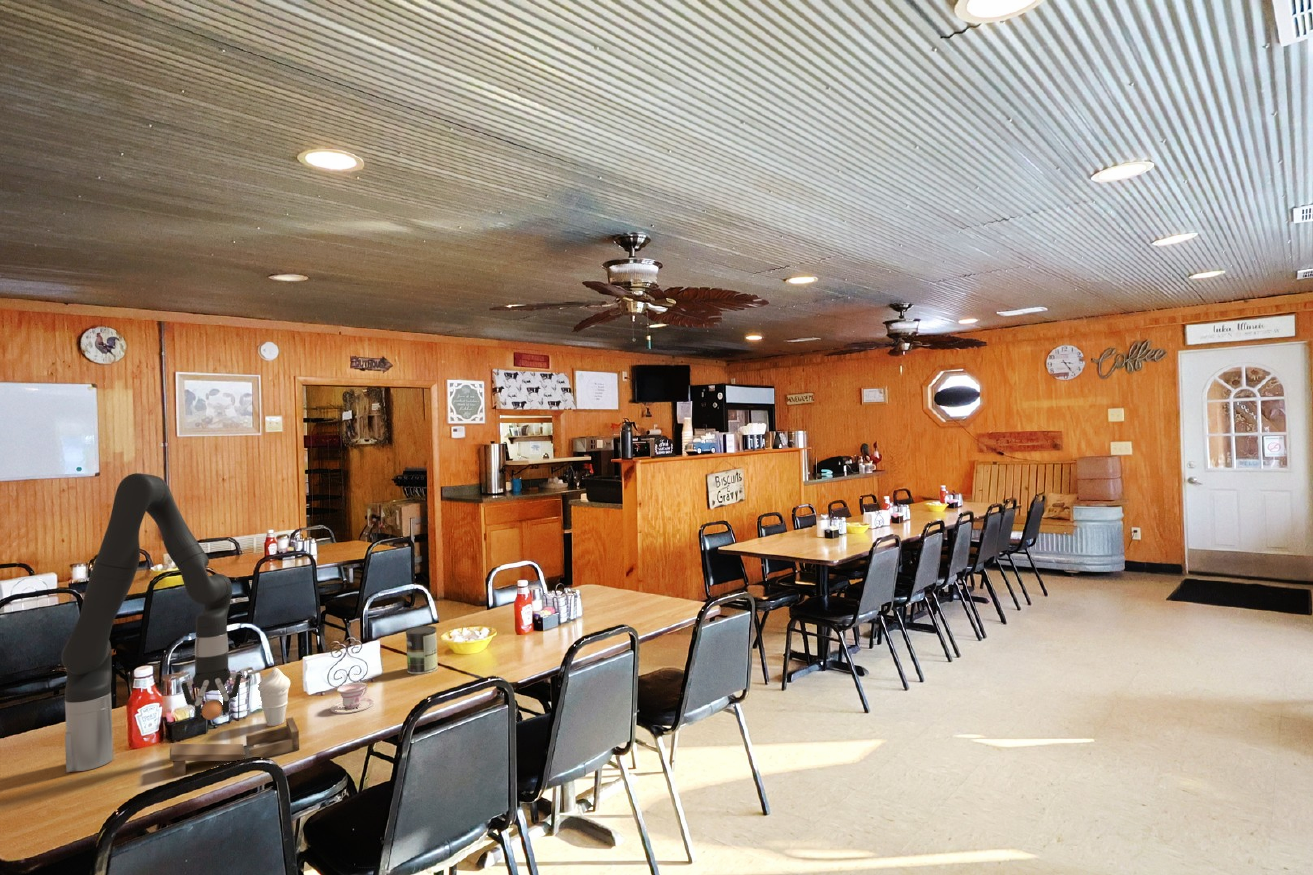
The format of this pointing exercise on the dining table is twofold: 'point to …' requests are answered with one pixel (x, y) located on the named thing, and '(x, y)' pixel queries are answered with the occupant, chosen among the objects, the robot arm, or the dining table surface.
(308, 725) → the dining table surface
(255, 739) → the box
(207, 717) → the ball
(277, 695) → the soft serve ice cream cone
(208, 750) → the ramp
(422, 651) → the coffee can
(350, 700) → the teacup
